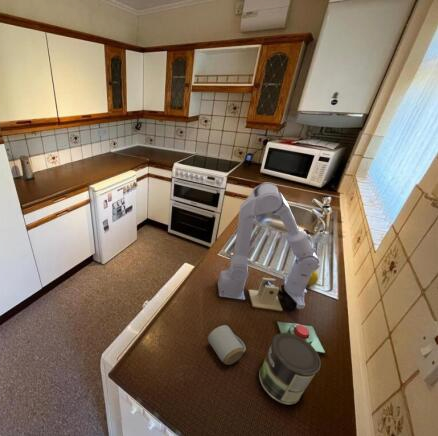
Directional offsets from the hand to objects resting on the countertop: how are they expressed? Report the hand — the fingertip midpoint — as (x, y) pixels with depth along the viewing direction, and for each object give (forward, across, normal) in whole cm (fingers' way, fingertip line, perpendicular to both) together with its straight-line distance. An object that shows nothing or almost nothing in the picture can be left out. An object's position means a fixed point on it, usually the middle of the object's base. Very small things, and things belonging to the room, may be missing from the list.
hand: (286, 306), depth 88 cm
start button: (-4, -14, +1) cm, 15 cm away
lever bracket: (-1, 0, +8) cm, 8 cm away
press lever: (-5, 0, +5) cm, 7 cm away
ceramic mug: (-1, -22, +24) cm, 33 cm away
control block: (-1, -14, +1) cm, 14 cm away
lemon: (-1, +12, -11) cm, 16 cm away
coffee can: (-1, -29, +11) cm, 31 cm away
